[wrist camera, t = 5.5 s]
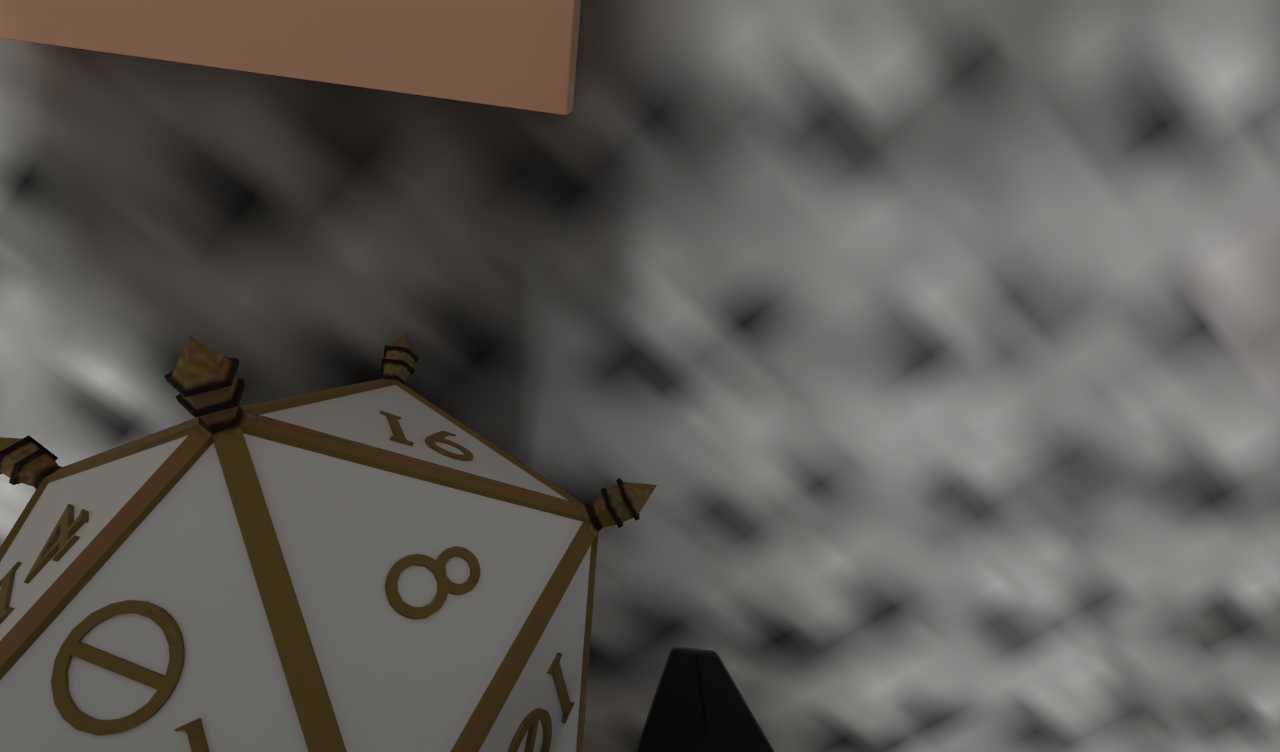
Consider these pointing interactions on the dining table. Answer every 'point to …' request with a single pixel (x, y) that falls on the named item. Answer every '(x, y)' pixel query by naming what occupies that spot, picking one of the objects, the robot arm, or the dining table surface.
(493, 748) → the game die
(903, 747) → the dining table surface
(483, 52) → the tile
